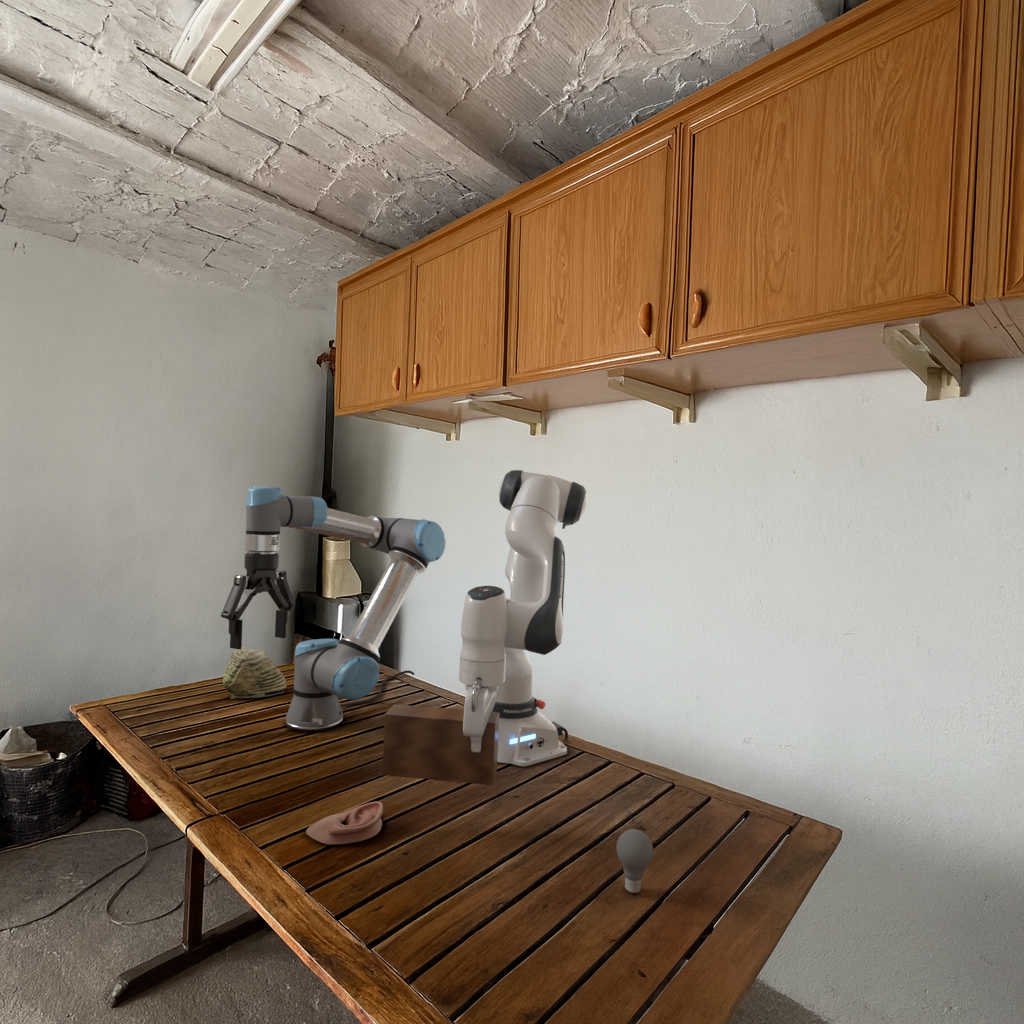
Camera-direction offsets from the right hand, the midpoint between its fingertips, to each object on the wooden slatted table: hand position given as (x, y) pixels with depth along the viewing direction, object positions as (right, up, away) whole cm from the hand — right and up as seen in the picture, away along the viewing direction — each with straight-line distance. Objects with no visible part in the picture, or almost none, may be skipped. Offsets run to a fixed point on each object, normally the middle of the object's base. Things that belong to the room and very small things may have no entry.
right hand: (479, 742), depth 122 cm
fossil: (-74, -13, +76) cm, 107 cm away
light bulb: (+26, -19, -17) cm, 36 cm away
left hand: (-53, +14, +26) cm, 61 cm away
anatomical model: (-26, -16, -1) cm, 30 cm away
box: (-8, -6, +1) cm, 10 cm away
